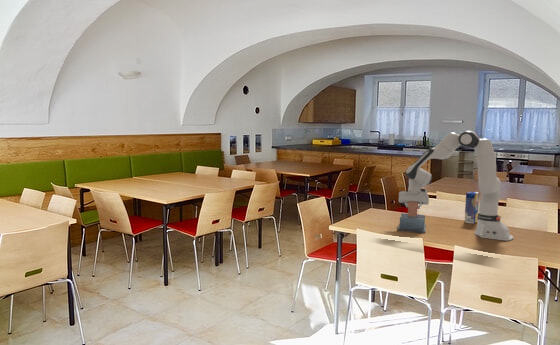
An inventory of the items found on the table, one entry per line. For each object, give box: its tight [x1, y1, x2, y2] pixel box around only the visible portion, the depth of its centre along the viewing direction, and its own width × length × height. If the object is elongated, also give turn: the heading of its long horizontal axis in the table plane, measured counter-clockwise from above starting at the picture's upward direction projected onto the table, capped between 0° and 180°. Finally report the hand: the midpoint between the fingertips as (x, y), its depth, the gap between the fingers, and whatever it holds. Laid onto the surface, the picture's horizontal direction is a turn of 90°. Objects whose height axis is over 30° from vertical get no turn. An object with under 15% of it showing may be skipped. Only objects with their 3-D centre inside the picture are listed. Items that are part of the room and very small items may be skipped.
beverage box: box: [463, 191, 480, 224], centre depth 321 cm, size 7×11×22 cm, turn 144°
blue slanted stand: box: [396, 216, 427, 234], centre depth 298 cm, size 18×20×8 cm
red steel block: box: [407, 202, 419, 216], centre depth 297 cm, size 6×4×9 cm
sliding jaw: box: [400, 212, 426, 225], centre depth 304 cm, size 16×2×7 cm, turn 70°
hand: (412, 207), depth 296 cm, fingers closed on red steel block, 6 cm apart
